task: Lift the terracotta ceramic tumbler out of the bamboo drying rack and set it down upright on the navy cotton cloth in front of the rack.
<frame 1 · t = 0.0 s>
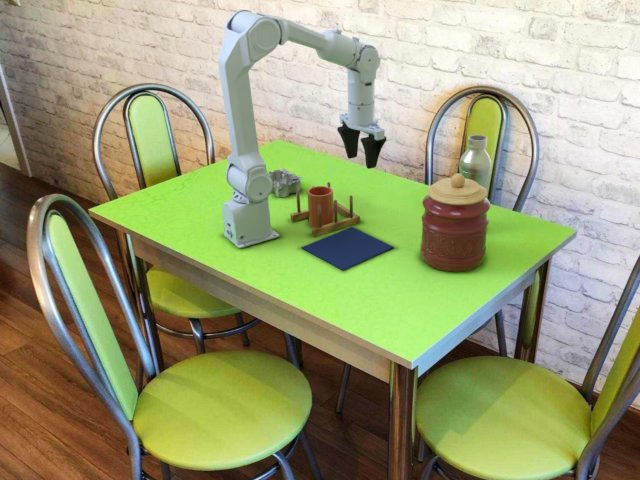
hand: (361, 162, 157), 10 cm above the table, tool pointing down, fingers open, 7 cm apart
tumbler: (321, 222, 154), on the table
drying rack: (325, 221, 155), on the table
cloth: (347, 248, 144), on the table
plastic bottle: (470, 228, 151), on the table
egg carton: (280, 189, 170), on the table
kitchen canister: (452, 258, 140), on the table
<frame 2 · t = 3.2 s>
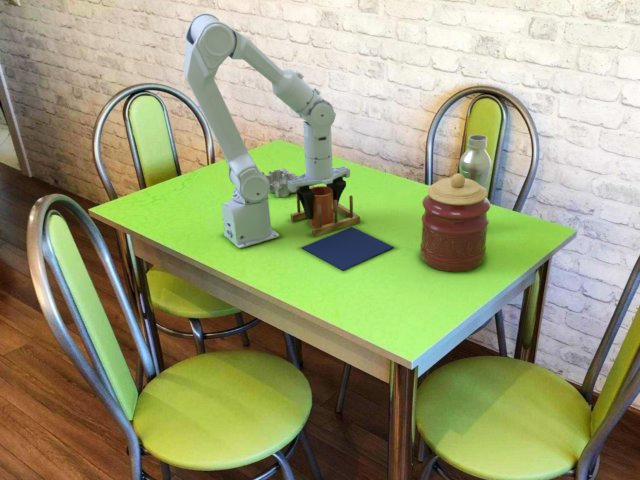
hand: (320, 214, 153), 2 cm above the table, tool pointing down, fingers closed on tumbler, 5 cm apart
tumbler: (321, 222, 154), on the table, touching gripper
everything else where it was.
when the fingers open (2 cm above the table, at t = 7.9 s): tumbler stays where it is, resting on cloth.
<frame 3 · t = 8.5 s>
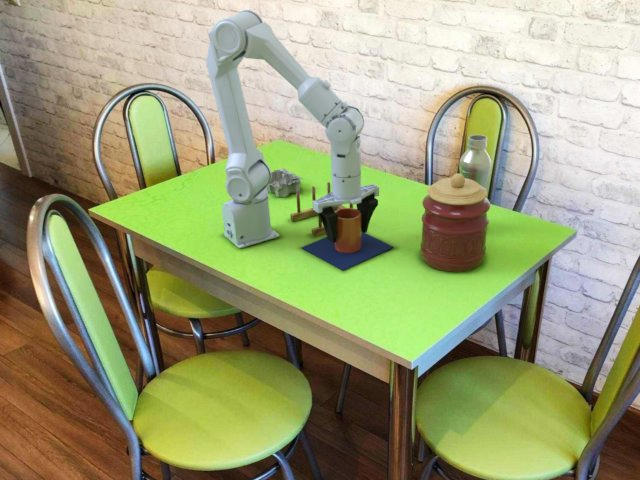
hand: (347, 235, 142), 3 cm above the table, tool pointing down, fingers open, 7 cm apart
tumbler: (347, 246, 144), resting on cloth
everything else where it was.
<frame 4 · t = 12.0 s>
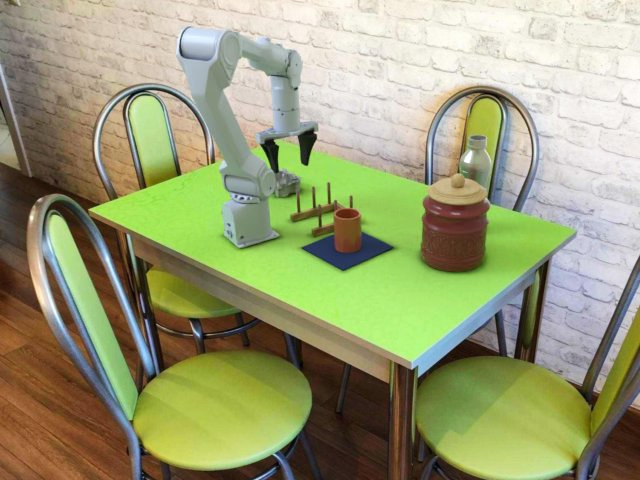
hand: (290, 168, 156), 9 cm above the table, tool pointing down, fingers open, 7 cm apart
nothing on the table moved.
at the end: tumbler inside the target area on the cloth (0.1 cm from its centre), point 0.3 cm above the cloth's base; tumbler tilted 0°; the gripper is holding nothing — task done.
